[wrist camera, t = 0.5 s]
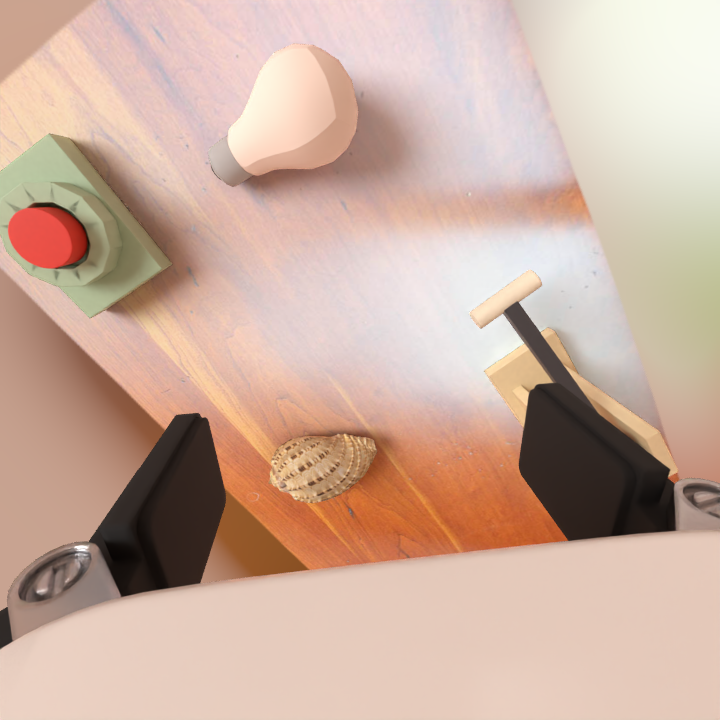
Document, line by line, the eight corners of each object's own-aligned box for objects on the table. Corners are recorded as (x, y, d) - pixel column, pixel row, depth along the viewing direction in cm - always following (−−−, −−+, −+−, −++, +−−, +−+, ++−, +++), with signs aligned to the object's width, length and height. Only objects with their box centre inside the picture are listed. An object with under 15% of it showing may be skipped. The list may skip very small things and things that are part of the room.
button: (14, 226, 25) (-7, 229, 23) (56, 195, 24) (37, 195, 23) (60, 274, 26) (43, 279, 24) (100, 245, 26) (85, 249, 24)
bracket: (483, 370, 36) (560, 454, 25) (548, 327, 35) (661, 393, 23) (529, 436, 40) (615, 536, 28) (588, 399, 39) (704, 487, 27)
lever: (466, 312, 29) (471, 312, 26) (524, 271, 28) (534, 267, 25) (589, 481, 29) (605, 496, 27) (649, 445, 28) (671, 458, 26)
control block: (-5, 195, 27) (-56, 195, 23) (69, 137, 26) (28, 128, 22) (104, 310, 31) (75, 326, 27) (172, 263, 30) (152, 273, 26)
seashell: (332, 393, 39) (250, 458, 36) (359, 410, 34) (266, 487, 31) (366, 446, 42) (294, 510, 39) (396, 469, 37) (315, 544, 34)
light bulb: (211, 217, 24) (361, 123, 20) (156, 112, 23) (306, -10, 19) (260, 217, 30) (384, 144, 26) (219, 134, 29) (343, 44, 25)
